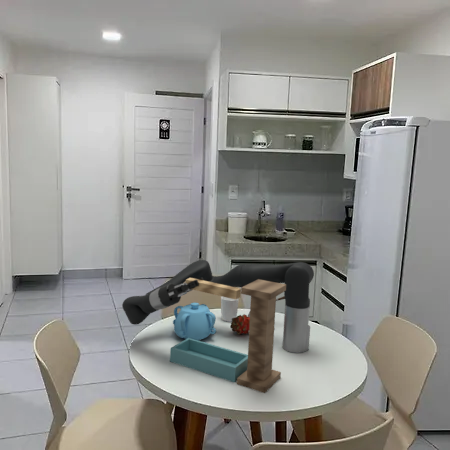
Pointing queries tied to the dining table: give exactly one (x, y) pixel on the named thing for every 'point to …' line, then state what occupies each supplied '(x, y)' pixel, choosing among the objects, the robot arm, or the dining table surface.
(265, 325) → the stand
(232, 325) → the dragon fruit
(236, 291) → the bar
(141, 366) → the dining table surface
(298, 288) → the robot arm
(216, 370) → the tray
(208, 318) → the decorative pot
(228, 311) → the white cup
